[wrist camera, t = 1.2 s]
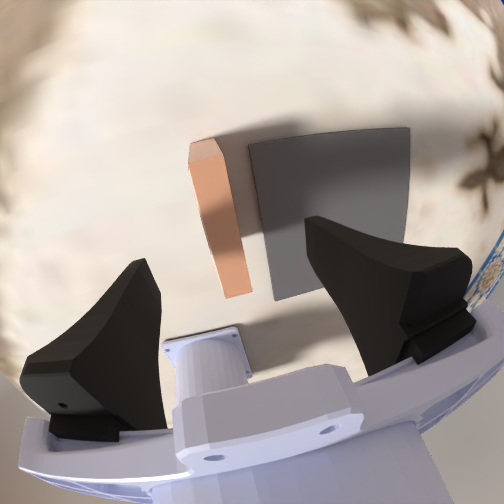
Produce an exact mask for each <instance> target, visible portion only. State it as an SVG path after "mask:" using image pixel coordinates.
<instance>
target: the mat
mask: <svg viewBox="0 0 504 504" xmlns="http://www.w3.org/2000/svg"><path fill="white" fill-rule="evenodd" d="M248 146H249V152H250V158H251V163H252V169H253V175H254V180H255V186H256V192H257V198H258V204H259V210H260V216H261V222H262V227H263V234H264V240H265V246H266V252H267V258H268V264H269V270H270V277H271V283H272V289H273V296H274V300H275V301H279V300H282V299H286V298H289V297H293V296H296V295H300V294H303V293H307V292H310V291H314V290H317V289H320V288H324V286H323V284H322V283H321V281H320V280H319V278H318V277H317V275H316V274H315V272H314V270H313V268H312V266H311V264H310V262H309V260H308V258H307V251H306V237H305V224H304V218H307V217H311V216H316V215H318V216H321V217H324V218H327V219H329V220H332V221H334V222H337V223H339V224H342V225H344V226H347V227H349V228H352V229H355V230H357V231H360V232H363V233H366V234H369V235H372V236H375V237H378V238H382V239H386V240H390V241H394V242H399V243H403V238H404V231H405V223H406V214H407V203H408V191H409V173H410V128H381V129H364V130H351V131H340V132H330V133H321V134H313V135H306V136H298V137H292V138H285V139H279V140H273V141H267V142H261V143H256V144H251V145H248Z"/></svg>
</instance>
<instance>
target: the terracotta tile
mask: <svg viewBox="0 0 504 504" xmlns="http://www.w3.org/2000/svg"><path fill="white" fill-rule="evenodd" d="M188 172H189V176H190V180H191V183H192V187H193V191H194V195H195V198H196V202H197V206H198V210H199V213H200V217H201V220H202V224H203V228H204V231H205V235H206V238H207V242H208V245H209V249H210V252H211V256H212V259H213V262H214V266H215V269H216V272H217V276H218V279H219V282H220V286H221V289H222V290H223V291H224V294H225V297H226V299H227V298H231V297H235V296H238V295H242V294H246V293H250V292H253V291H252V287H251V282H250V278H249V273H248V268H247V264H246V259H245V255H244V250H243V245H242V241H241V236H240V231H239V227H238V222H237V217H236V213H235V208H234V203H233V199H232V194H231V189H230V184H229V180H228V175H227V170H226V165H225V161H224V156H223V153H222V151H221V150H220V148H219V146H218V145H217V143H216V141H215V140H214V138H211V139H206V140H202V141H198V142H194V143H190V149H189V158H188Z"/></svg>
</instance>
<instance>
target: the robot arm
mask: <svg viewBox="0 0 504 504" xmlns="http://www.w3.org/2000/svg"><path fill="white" fill-rule="evenodd" d="M304 224H305V237H306V251H307V258H308V260H309V262H310V264H311V266H312V268H313V270H314V272H315V274H316V275H317V277H318V278H319V280H320V281H321V283H322V284H323V286H324V287H325V289H326V290H327V292H328V293H329V295H330V296H331V298H332V299H333V301H334V302H335V304H336V305H337V307H338V308H339V310H340V312H341V313H342V315H343V317H344V319H345V321H346V323H347V325H348V327H349V330H350V332H351V334H352V336H353V338H354V341H355V343H356V345H357V347H358V350H359V352H360V355H361V357H362V360H363V362H364V365H365V368H366V371H367V373H368V376H369V377H367V378H365V379H362V380H360V381H358V382H355V383H353V382H352V380H351V378H350V376H349V374H348V372H347V370H346V368H345V367H340V366H335V365H331V364H323V365H318V366H313V367H307V368H304V369H301V370H297V371H294V372H291V373H287V374H284V375H280V376H277V377H273V378H270V379H266V380H262V381H258V382H254V383H250V384H248V380H247V379H248V378H251V377H252V376H253V375H252V371H251V368H250V365H249V362H248V359H247V356H246V353H245V350H244V347H243V344H242V341H241V337H240V334H239V331H238V328H237V327H229V328H225V329H221V330H217V331H212V332H208V333H204V334H199V335H194V336H190V337H185V338H180V339H175V340H170V341H165V342H162V343H161V348H162V350H163V351H164V353H165V354H166V356H167V357H168V359H169V360H170V362H171V363H172V365H173V366H174V368H175V381H176V405H177V407H176V408H175V409H174V410H173V411H172V416H173V428H171V429H168V428H167V424H166V419H165V414H164V408H163V402H162V396H161V387H160V378H159V365H158V351H159V337H160V325H161V313H162V309H161V293H160V290H159V288H158V286H157V284H156V282H155V280H154V277H153V275H152V273H151V271H150V268H149V266H148V264H147V262H146V259H145V258H143V259H139V260H135V261H132V262H131V263H130V264H129V265H128V266H127V267H126V269H125V270H124V271H123V272H122V273H121V275H120V276H119V277H118V278H117V279H116V281H115V282H114V283H113V284H112V285H111V287H110V288H109V289H108V290H107V291H106V292H105V294H104V295H103V296H102V297H101V298H100V299H99V300H98V302H97V303H96V304H95V305H94V306H93V307H92V308H91V309H90V310H89V311H88V312H87V313H86V314H85V315H84V316H83V317H82V318H81V319H80V320H79V321H77V322H76V323H75V324H74V325H73V326H71V327H70V328H69V329H68V330H67V331H66V332H64V333H63V334H62V335H60V336H59V337H58V338H56V339H55V340H53V341H52V342H51V343H49V344H48V345H46V346H45V347H43V348H41V349H40V350H38V351H36V352H35V353H33V354H31V355H29V356H28V357H27V359H26V362H25V364H24V367H23V370H22V373H21V376H20V381H19V382H20V384H21V387H22V389H23V390H24V391H25V393H26V394H27V395H28V396H29V397H30V398H31V399H32V400H33V401H35V402H36V403H37V404H38V405H39V406H41V407H42V408H43V409H44V410H46V411H47V412H48V413H49V414H51V419H50V421H48V420H46V419H42V418H35V417H26V421H25V426H24V431H23V437H22V443H21V449H20V456H19V466H18V467H19V468H20V469H21V470H23V471H25V472H28V473H29V474H31V475H33V476H35V477H37V478H39V479H41V480H44V481H46V482H48V483H50V484H53V485H55V486H57V487H60V488H63V489H67V490H71V491H75V492H79V493H83V494H88V495H93V496H98V497H103V498H108V499H114V500H121V501H128V502H136V503H146V504H454V503H453V501H452V498H451V496H450V494H449V492H448V490H447V487H446V485H445V483H444V481H443V479H442V477H441V475H440V473H439V471H438V469H437V467H436V465H435V463H434V461H433V459H432V457H431V455H430V453H429V451H428V449H427V447H426V445H425V443H424V441H423V439H422V437H421V434H422V433H424V432H425V431H427V430H428V429H430V428H431V427H432V426H434V425H435V424H437V423H438V422H439V421H441V420H442V419H444V418H445V417H446V416H448V415H449V414H450V413H452V412H453V411H454V410H455V409H457V408H458V407H459V406H460V405H462V404H463V403H464V402H465V401H467V400H468V399H469V398H470V397H471V396H472V395H474V394H475V393H476V392H477V391H478V390H479V389H481V388H482V387H483V386H484V385H485V384H486V383H487V382H488V381H490V380H491V379H492V378H493V377H494V376H495V375H496V374H497V373H498V372H499V370H500V369H501V368H502V367H503V365H504V312H503V311H502V310H501V309H500V308H499V307H498V306H497V305H496V304H495V303H494V302H493V301H492V300H491V299H490V298H488V299H487V300H485V301H484V302H482V303H481V304H480V305H478V306H477V307H475V308H474V309H473V310H472V312H471V313H469V312H468V311H467V310H466V308H467V306H468V303H467V302H466V301H465V300H464V299H463V297H464V294H465V292H466V289H467V286H468V284H469V281H470V278H471V274H472V261H471V259H470V258H469V257H468V256H467V255H466V254H464V253H463V252H462V251H461V250H460V249H458V248H445V247H426V246H417V245H410V244H404V243H399V242H394V241H390V240H386V239H382V238H378V237H375V236H372V235H369V234H366V233H363V232H360V231H357V230H355V229H352V228H349V227H347V226H344V225H342V224H339V223H337V222H334V221H332V220H329V219H327V218H324V217H321V216H318V215H316V216H311V217H307V218H304ZM233 334H235V335H233Z"/></svg>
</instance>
